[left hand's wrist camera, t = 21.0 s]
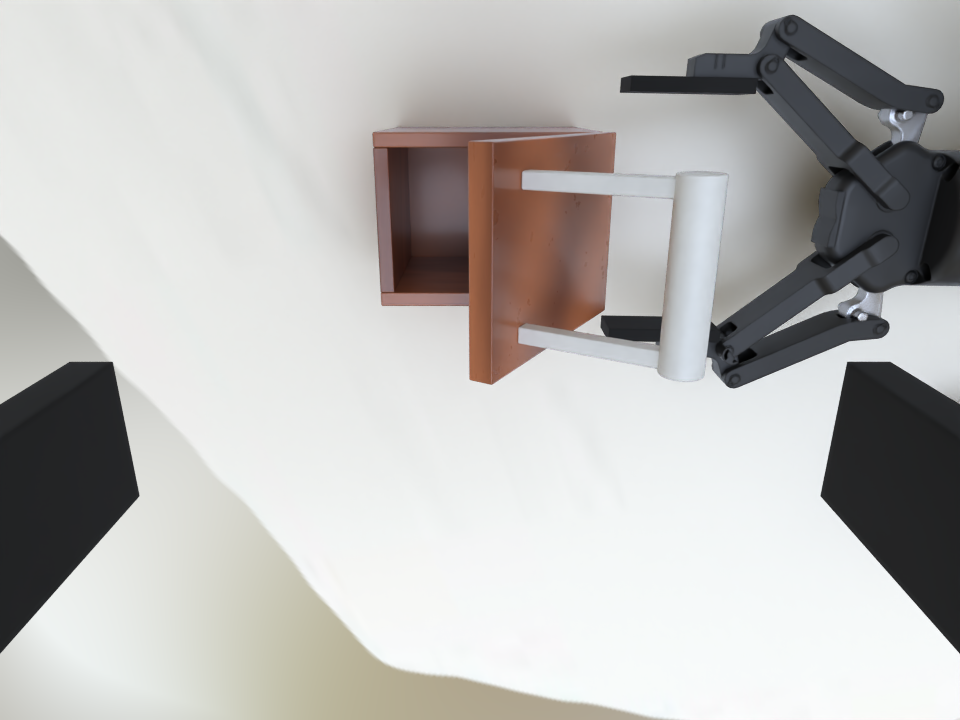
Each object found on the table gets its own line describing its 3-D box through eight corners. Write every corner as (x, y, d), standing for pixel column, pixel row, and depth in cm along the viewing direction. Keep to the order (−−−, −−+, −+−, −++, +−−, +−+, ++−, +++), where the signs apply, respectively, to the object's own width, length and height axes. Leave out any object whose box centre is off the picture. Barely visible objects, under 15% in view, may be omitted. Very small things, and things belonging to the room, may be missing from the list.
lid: (469, 380, 27) (682, 427, 23) (467, 140, 24) (714, 147, 20) (586, 307, 37) (750, 331, 33) (596, 132, 34) (778, 134, 29)
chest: (402, 265, 47) (381, 306, 37) (396, 127, 44) (371, 132, 34) (570, 265, 47) (594, 306, 37) (576, 127, 44) (604, 131, 34)
